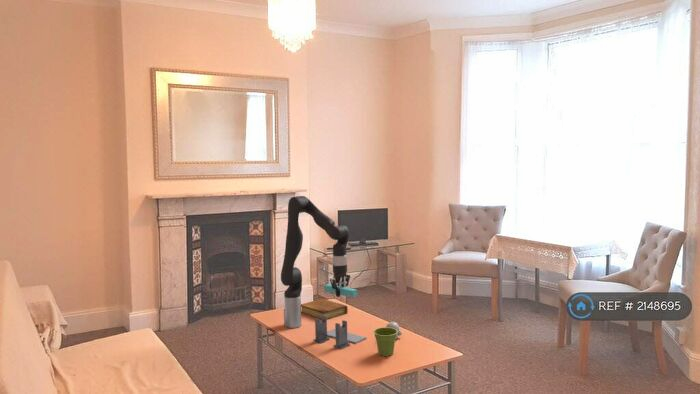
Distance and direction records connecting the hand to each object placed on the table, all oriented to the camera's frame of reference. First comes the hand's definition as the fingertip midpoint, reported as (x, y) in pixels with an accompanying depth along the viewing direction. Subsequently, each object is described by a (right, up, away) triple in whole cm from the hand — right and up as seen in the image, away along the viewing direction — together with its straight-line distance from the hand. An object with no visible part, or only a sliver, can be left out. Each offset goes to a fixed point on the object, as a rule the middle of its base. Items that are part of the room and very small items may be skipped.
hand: (340, 295), depth 288 cm
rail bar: (0, +1, 0) cm, 1 cm away
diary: (-11, -20, +48) cm, 53 cm away
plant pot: (+22, -25, -22) cm, 40 cm away
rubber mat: (+2, -23, +4) cm, 23 cm away
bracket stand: (-5, -24, -6) cm, 25 cm away
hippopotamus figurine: (+26, -23, -1) cm, 35 cm away
